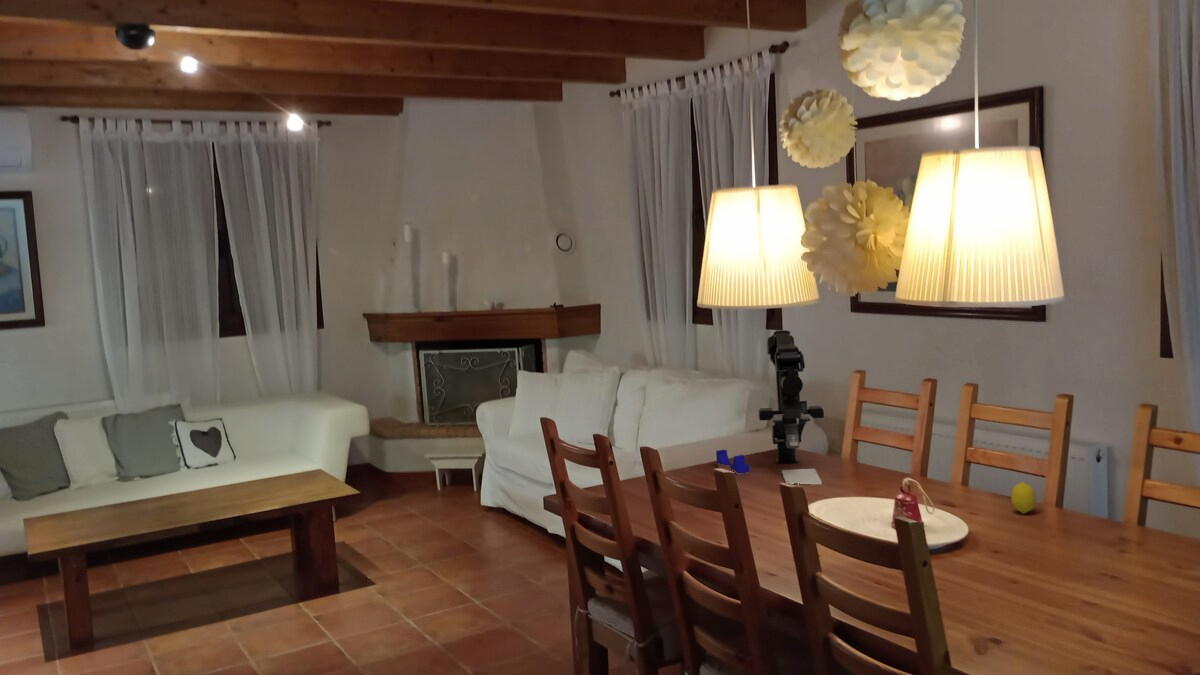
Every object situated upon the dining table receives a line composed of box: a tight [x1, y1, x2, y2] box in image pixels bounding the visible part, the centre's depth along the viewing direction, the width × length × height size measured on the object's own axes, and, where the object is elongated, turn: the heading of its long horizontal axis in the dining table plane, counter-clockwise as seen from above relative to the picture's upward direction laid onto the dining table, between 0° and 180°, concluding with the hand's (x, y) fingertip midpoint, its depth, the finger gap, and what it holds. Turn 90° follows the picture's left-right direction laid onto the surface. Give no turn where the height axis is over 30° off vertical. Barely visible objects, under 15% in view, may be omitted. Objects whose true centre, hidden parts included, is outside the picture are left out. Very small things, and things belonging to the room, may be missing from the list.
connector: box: [785, 429, 800, 449], centre depth 281 cm, size 4×12×4 cm, turn 173°
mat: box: [781, 468, 823, 486], centre depth 282 cm, size 16×10×1 cm, turn 174°
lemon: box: [1010, 481, 1037, 515], centre depth 232 cm, size 6×6×8 cm
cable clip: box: [715, 449, 751, 476], centre depth 297 cm, size 12×4×6 cm, turn 23°
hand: (792, 441), depth 282 cm, fingers closed on connector, 3 cm apart
